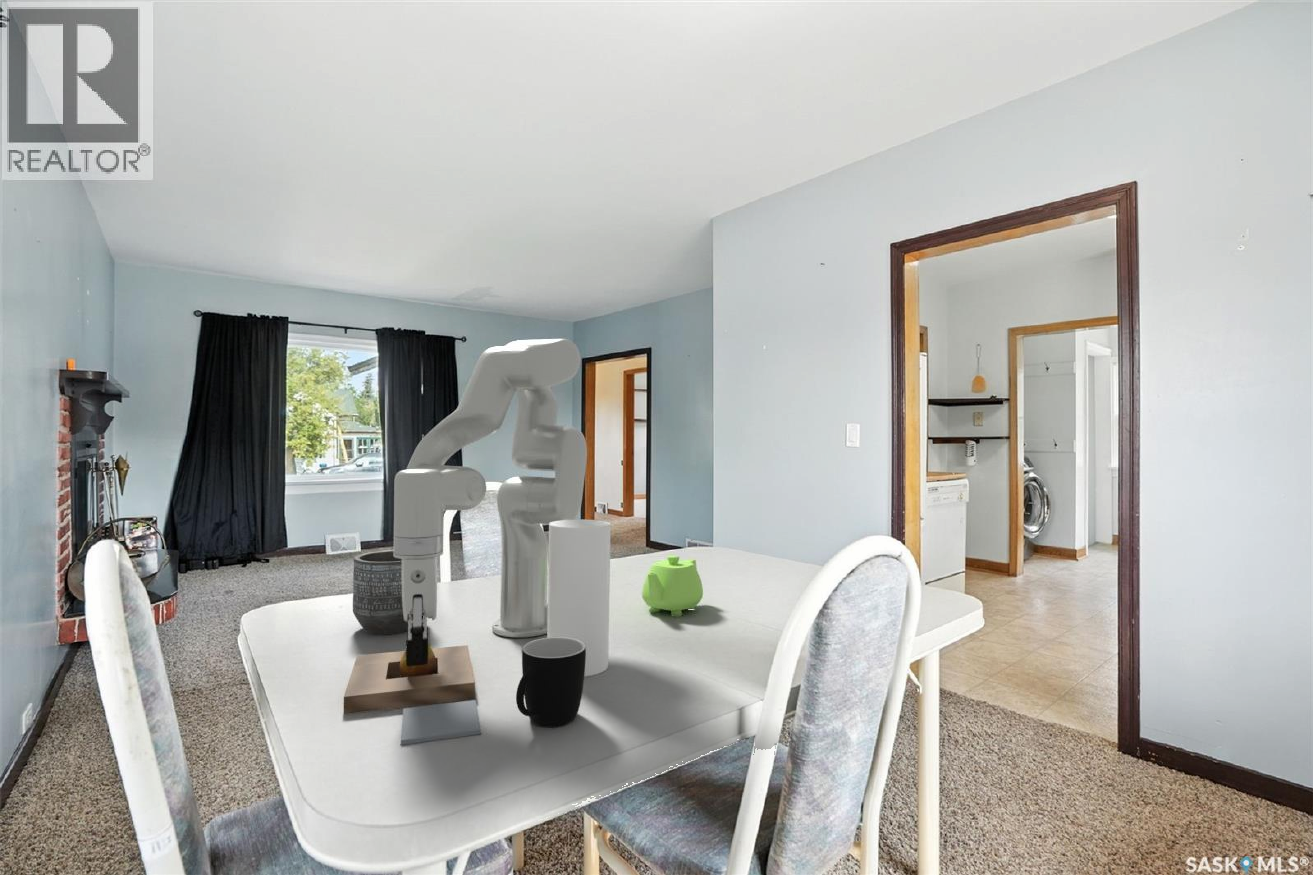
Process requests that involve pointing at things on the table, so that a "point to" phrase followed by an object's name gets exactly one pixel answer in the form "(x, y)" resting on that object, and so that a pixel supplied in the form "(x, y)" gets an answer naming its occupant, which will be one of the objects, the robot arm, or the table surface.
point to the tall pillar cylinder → (580, 587)
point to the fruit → (418, 666)
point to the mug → (551, 680)
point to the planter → (378, 593)
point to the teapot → (672, 586)
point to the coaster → (439, 722)
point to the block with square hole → (408, 681)
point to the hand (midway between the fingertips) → (417, 657)
